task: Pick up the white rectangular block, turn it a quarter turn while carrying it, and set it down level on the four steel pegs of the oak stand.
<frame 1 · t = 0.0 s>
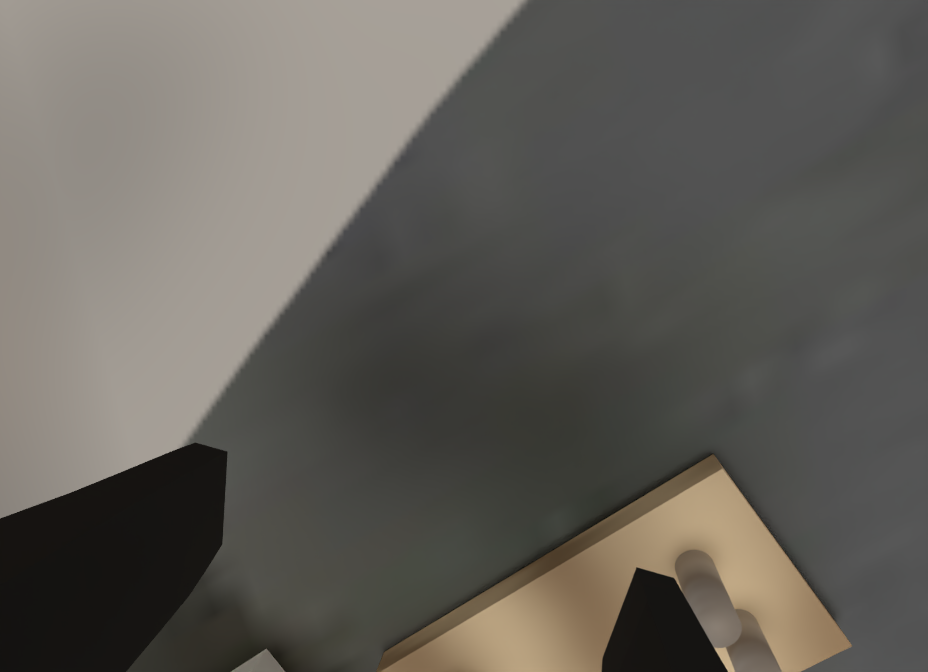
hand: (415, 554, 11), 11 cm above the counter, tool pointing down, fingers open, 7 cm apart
peg stand: (595, 637, 22), on the counter
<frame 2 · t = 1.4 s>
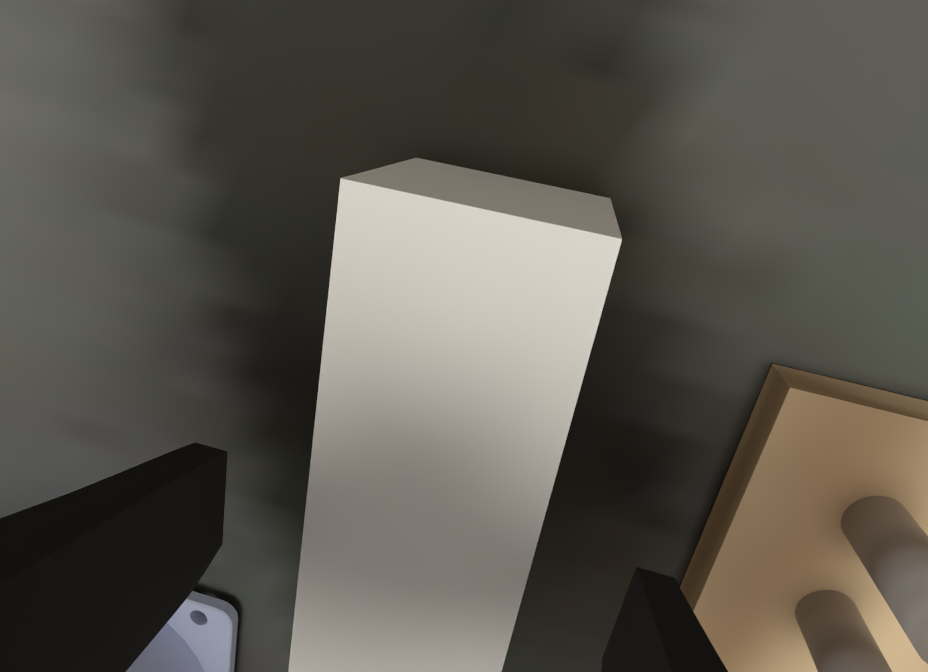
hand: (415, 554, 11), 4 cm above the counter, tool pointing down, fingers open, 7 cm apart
white rectangular block: (461, 428, 15), on the counter
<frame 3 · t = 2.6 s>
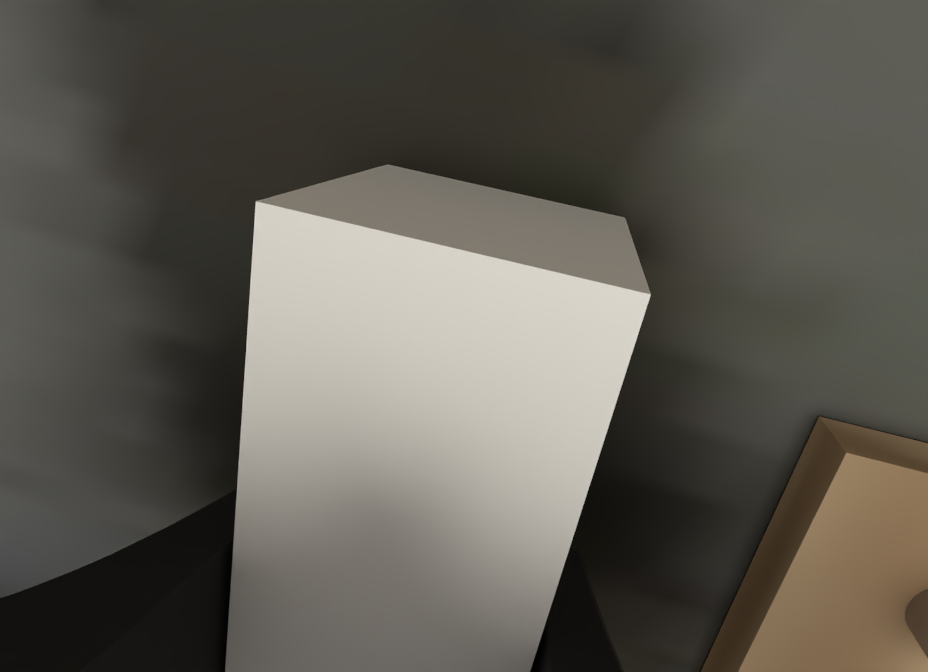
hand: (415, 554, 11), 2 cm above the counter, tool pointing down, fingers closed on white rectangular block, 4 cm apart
white rectangular block: (440, 489, 12), on the counter, touching gripper
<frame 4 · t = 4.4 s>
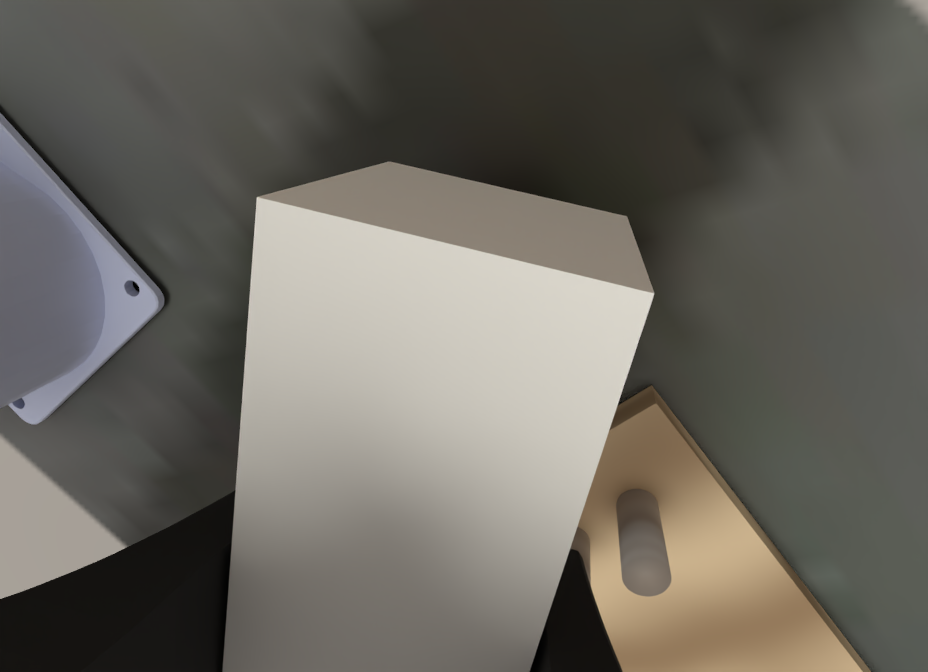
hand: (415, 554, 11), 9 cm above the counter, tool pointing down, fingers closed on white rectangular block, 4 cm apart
peg stand: (682, 599, 21), on the counter
white rectangular block: (439, 488, 12), point 7 cm above the counter, touching gripper
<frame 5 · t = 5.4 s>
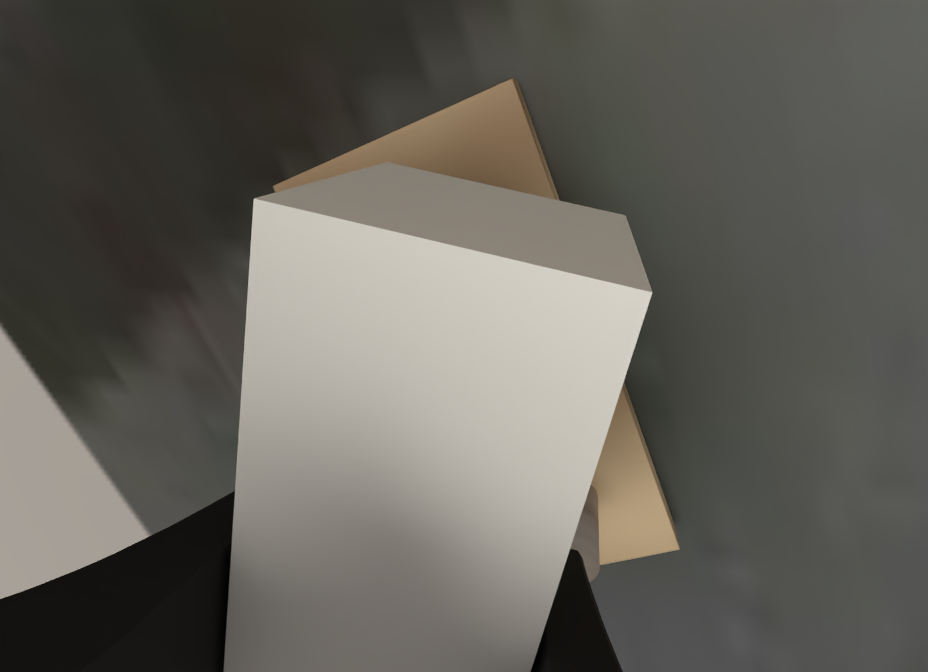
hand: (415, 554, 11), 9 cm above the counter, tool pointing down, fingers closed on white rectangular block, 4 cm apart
peg stand: (490, 359, 19), on the counter
white rectangular block: (440, 489, 12), point 7 cm above the counter, touching gripper
when the fingers open (7 cm above the counter, at t = 6.3 s): white rectangular block drops 1 cm, resting on peg stand.
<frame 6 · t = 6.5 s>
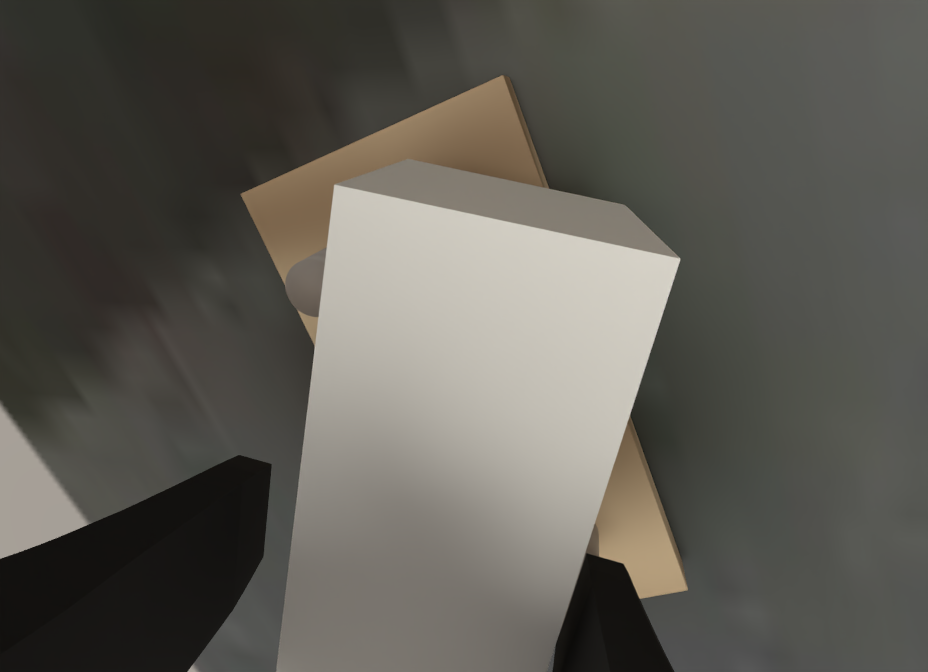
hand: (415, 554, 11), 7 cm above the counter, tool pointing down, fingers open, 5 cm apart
peg stand: (481, 382, 17), on the counter
white rectangular block: (454, 463, 13), point 4 cm above the counter, touching peg stand
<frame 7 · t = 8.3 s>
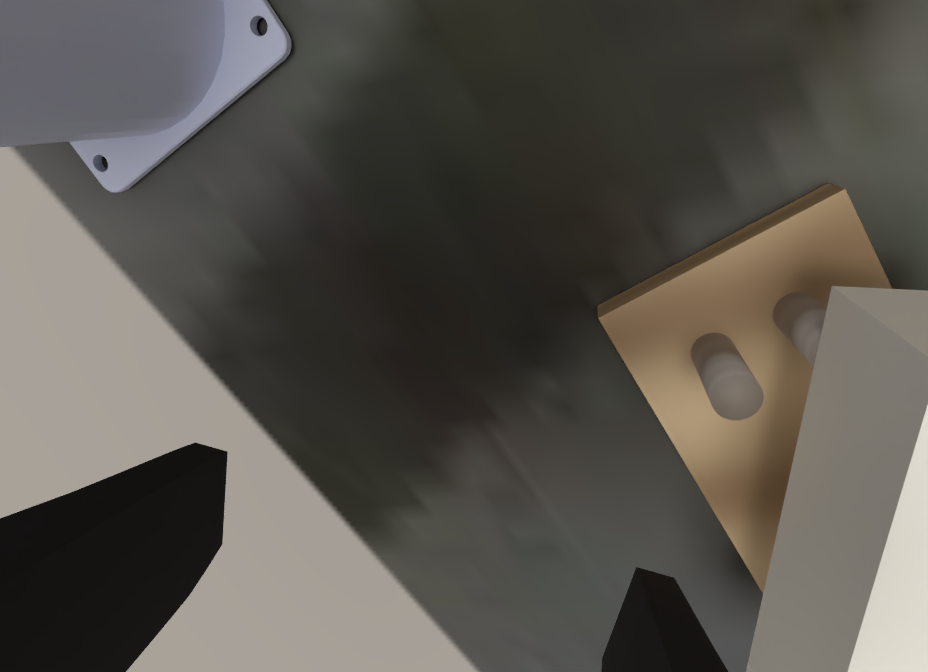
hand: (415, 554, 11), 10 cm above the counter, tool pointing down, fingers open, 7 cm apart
peg stand: (807, 437, 20), on the counter
white rectangular block: (866, 520, 16), point 4 cm above the counter, touching peg stand
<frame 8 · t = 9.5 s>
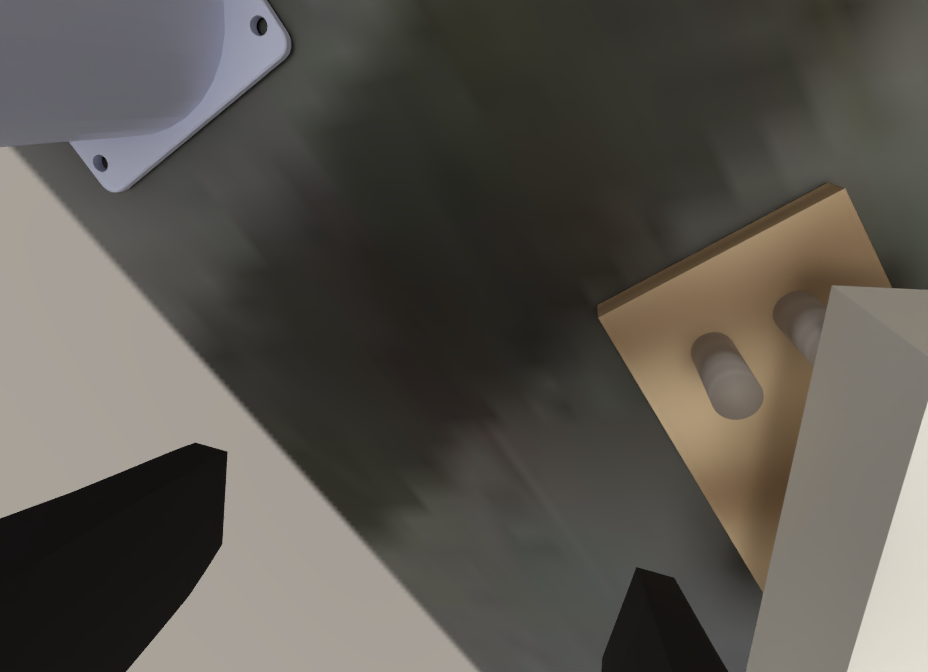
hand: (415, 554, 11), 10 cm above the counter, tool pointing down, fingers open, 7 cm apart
peg stand: (807, 436, 20), on the counter
white rectangular block: (866, 519, 16), point 4 cm above the counter, touching peg stand
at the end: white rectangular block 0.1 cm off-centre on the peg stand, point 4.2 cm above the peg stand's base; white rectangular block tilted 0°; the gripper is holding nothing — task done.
